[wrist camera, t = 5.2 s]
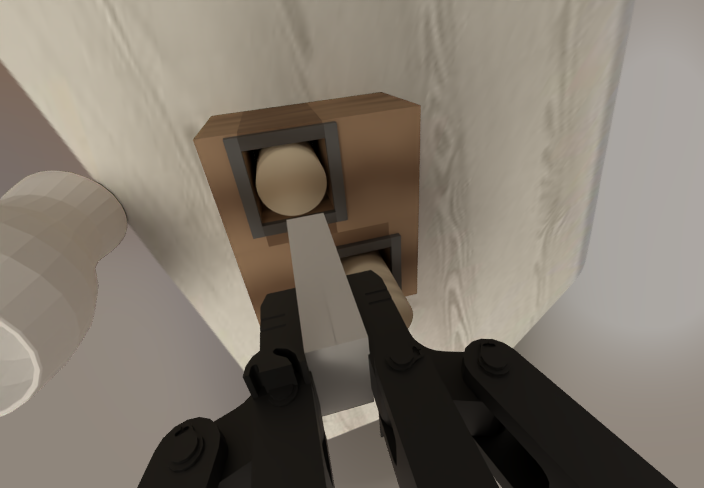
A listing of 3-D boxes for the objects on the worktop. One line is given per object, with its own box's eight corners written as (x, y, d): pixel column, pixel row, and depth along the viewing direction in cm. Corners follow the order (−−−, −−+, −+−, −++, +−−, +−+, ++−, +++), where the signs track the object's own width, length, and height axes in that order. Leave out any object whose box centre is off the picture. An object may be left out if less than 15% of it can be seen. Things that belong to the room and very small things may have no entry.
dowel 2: (325, 243, 27) (346, 306, 20) (376, 232, 27) (413, 290, 21) (332, 284, 29) (353, 352, 23) (379, 273, 30) (412, 336, 23)
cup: (3, 121, 22) (-333, 213, 10) (166, 194, 27) (85, 316, 15) (-28, 239, 25) (-310, 422, 13) (122, 284, 30) (25, 448, 18)
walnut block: (211, 116, 25) (191, 141, 18) (381, 92, 27) (424, 106, 20) (261, 276, 33) (262, 336, 26) (387, 248, 36) (419, 297, 28)
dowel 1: (250, 128, 26) (247, 155, 19) (306, 120, 26) (321, 143, 20) (264, 181, 28) (265, 221, 21) (314, 172, 29) (330, 208, 22)
